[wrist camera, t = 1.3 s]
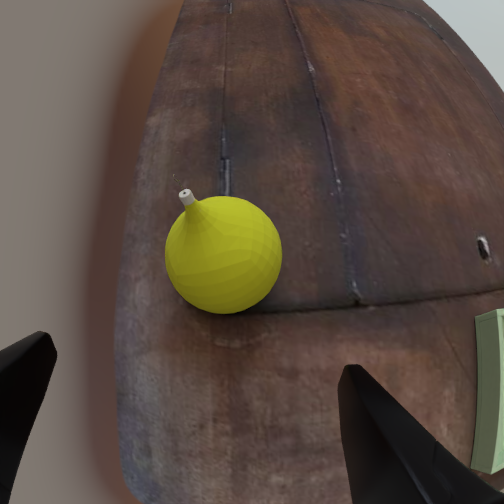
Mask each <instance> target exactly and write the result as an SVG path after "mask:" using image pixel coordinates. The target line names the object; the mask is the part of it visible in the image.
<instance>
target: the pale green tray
mask: <svg viewBox="0 0 504 504" xmlns="http://www.w3.org/2000/svg"><path fill="white" fill-rule="evenodd" d="M475 326H476V339H477V362H478V392H477V414H476V427H475V438H474V446H473V454H472V461H471V467H470V468H471V469H474V470H477V471H481V472H484V473H487V474H493V473H495V472H497V471H499V470H500V469H502V468H504V309H496V310H494V311H491V312H488V313H485V314H482V315H479V316H476V317H475Z"/></svg>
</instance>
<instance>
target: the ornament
mask: <svg viewBox="0 0 504 504" xmlns="http://www.w3.org/2000/svg"><path fill="white" fill-rule="evenodd" d="M174 175H175V174H174ZM174 175H173V177H174ZM176 179H177V178H176ZM174 180H175V179H174ZM175 181H176V180H175ZM178 181H179V180H178ZM176 182H177V181H176ZM179 183H180V182H179ZM179 185H180V184H179ZM181 188H182V186H181ZM182 190H183V189H182ZM179 198H180V199H181V201H182V203H183V204H184V206H185V211H184V212H183V213H182V214H181V215H180V216H179V218H178V219H177V220H176V221H175V223H174V224H173V226H172V227H171V230H170V232H169V235H168V238H167V241H166V246H165V265H166V269H167V273H168V275H169V278H170V280H171V282H172V284H173V286H174V287H175V289H176V290H177V291H178V293H179V294H180V295H181V296H182V297H183V298H184V299H185V300H186V301H188V302H189V303H191V304H192V305H194V306H196V307H197V308H199V309H202V310H205V311H208V312H212V313H219V314H228V313H235V312H239V311H242V310H245V309H247V308H249V307H251V306H253V305H255V304H256V303H258V302H259V301H260V300H262V299H263V298H264V297H265V296H266V295H267V294H268V293H269V292H270V290H271V288H272V287H273V285H274V284H275V282H276V280H277V277H278V275H279V272H280V267H281V261H282V247H281V241H280V238H279V235H278V232H277V230H276V228H275V227H274V225H273V223H272V222H271V220H270V219H269V218H268V217H267V216H266V215H265V214H264V213H263V212H262V211H261V210H260V209H259V208H258V207H256V206H255V205H253V204H251V203H250V202H248V201H246V200H243V199H239V198H235V197H227V196H218V197H211V198H207V199H204V200H202V201H197V200H196V199H195V198H194V196H193V194H192V192H191V190H189V189H185V190H183V191H181V192H180V194H179Z"/></svg>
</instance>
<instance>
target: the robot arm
mask: <svg viewBox="0 0 504 504" xmlns="http://www.w3.org/2000/svg"><path fill="white" fill-rule="evenodd" d="M56 360H57V351H56V348H55V346H54V343H53V341H52V338H51V336H50V335H49V334H48V333H46V332H42V331H37V332H36V333H33V334H31V335H29V336H28V337H26V338H24V339H22V340H20V341H18V342H16V343H14V344H12V345H11V346H8V347H7V348H5V349H3V350H1V351H0V504H8V503H9V500H10V495H11V491H12V487H13V483H14V480H15V477H16V473H17V470H18V467H19V464H20V460H21V458H22V455H23V451H24V449H25V445H26V443H27V440H28V437H29V435H30V432H31V429H32V427H33V424H34V421H35V419H36V416H37V414H38V411H39V409H40V406H41V404H42V402H43V399H44V396H45V393H46V391H47V387H48V384H49V381H50V378H51V375H52V372H53V369H54V366H55V363H56ZM338 402H339V416H340V430H341V439H342V445H343V450H344V456H345V461H346V467H347V473H348V479H349V484H350V491H351V497H352V503H353V504H504V493H502V492H500V491H498V490H497V489H495V488H494V487H492V486H491V485H490V484H488V483H487V482H486V481H484V480H483V479H482V478H480V477H479V476H478V475H476V474H475V473H474V472H472V471H471V470H470V469H469V468H467V467H466V466H465V465H464V464H462V463H461V462H460V461H459V460H458V459H456V458H455V457H454V456H453V455H452V454H451V453H450V452H449V451H448V450H447V449H445V448H444V447H443V446H442V445H441V444H440V443H439V442H438V441H436V439H435V438H434V437H433V436H432V435H431V434H430V433H429V432H428V431H427V430H426V429H425V428H424V427H423V426H422V425H421V424H420V423H419V422H418V421H417V420H416V419H415V418H414V417H413V416H412V415H411V414H410V413H409V412H408V411H407V410H406V409H404V408H403V407H402V406H401V405H400V404H399V403H398V402H397V401H396V400H395V399H394V398H393V397H392V396H391V395H390V394H389V393H388V392H387V391H386V390H385V389H384V388H383V387H382V386H381V385H380V384H379V383H378V382H377V381H376V380H375V379H374V378H373V377H372V376H371V375H370V374H369V373H368V372H367V371H366V370H365V369H364V368H363V367H362V366H361V365H358V364H352V365H346V366H345V367H344V369H343V372H342V375H341V378H340V381H339V383H338Z"/></svg>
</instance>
